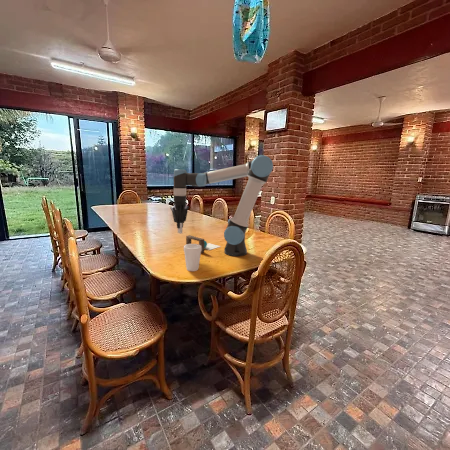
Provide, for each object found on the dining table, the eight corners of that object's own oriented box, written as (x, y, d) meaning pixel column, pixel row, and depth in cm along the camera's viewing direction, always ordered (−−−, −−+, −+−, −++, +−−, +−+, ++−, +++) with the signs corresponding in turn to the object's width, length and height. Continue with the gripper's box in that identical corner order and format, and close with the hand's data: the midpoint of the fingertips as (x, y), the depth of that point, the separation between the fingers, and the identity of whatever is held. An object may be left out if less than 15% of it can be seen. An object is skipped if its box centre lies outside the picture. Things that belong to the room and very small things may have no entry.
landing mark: (220, 246, 177) (220, 246, 177) (209, 250, 168) (209, 249, 168) (208, 243, 184) (208, 243, 184) (197, 246, 175) (197, 246, 175)
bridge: (189, 247, 171) (189, 235, 169) (204, 252, 162) (204, 239, 160) (186, 248, 169) (186, 235, 167) (200, 253, 160) (201, 240, 158)
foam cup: (180, 270, 131) (180, 247, 128) (188, 264, 139) (189, 242, 137) (196, 273, 128) (196, 249, 125) (204, 267, 136) (204, 245, 133)
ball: (202, 247, 167) (207, 249, 172) (205, 239, 169) (209, 242, 173) (196, 246, 171) (201, 248, 175) (199, 238, 172) (203, 241, 176)
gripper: (184, 194, 155) (184, 230, 160) (167, 195, 146) (167, 233, 150) (192, 195, 151) (191, 232, 155) (175, 196, 141) (175, 235, 146)
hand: (180, 233), depth 153 cm, fingers closed
